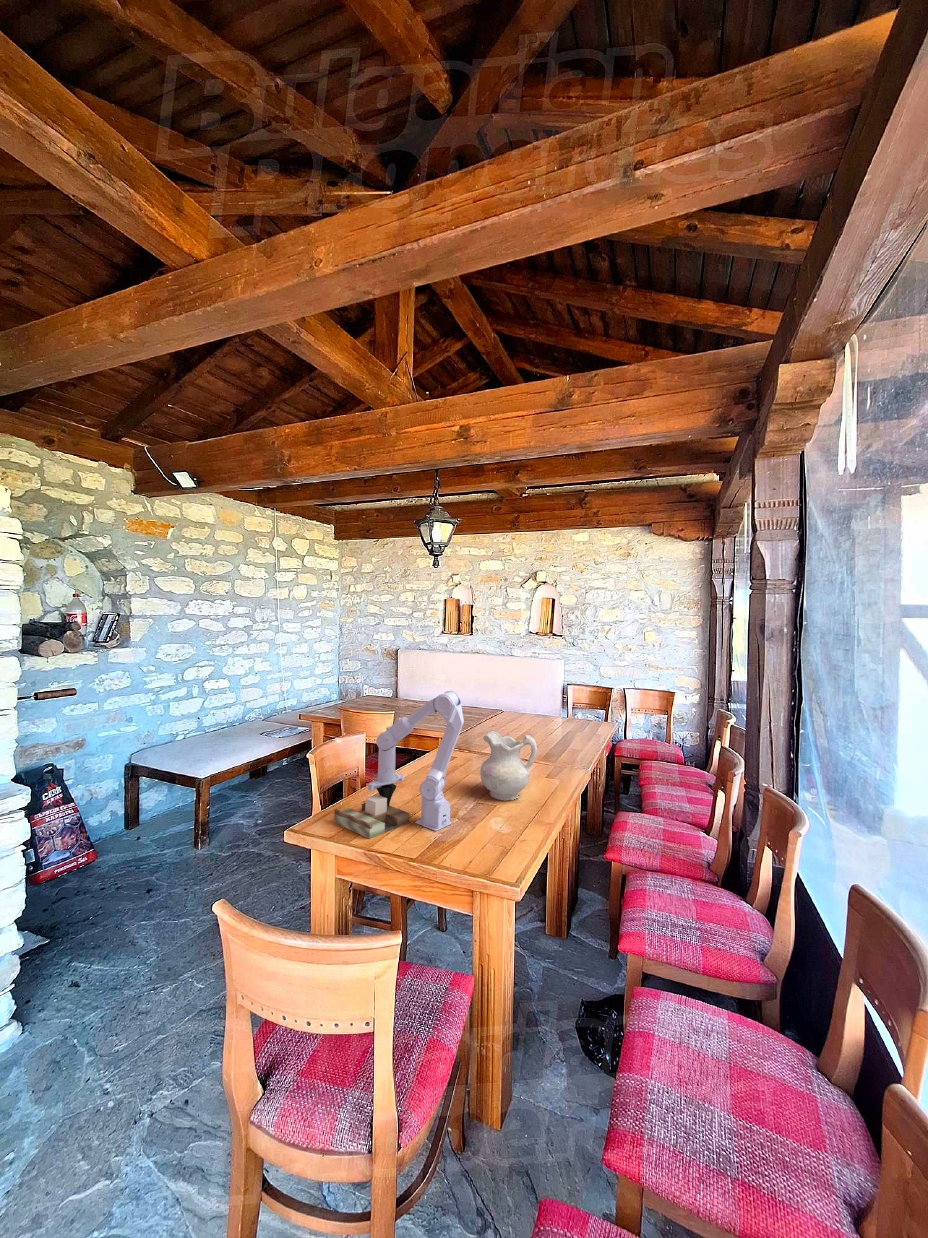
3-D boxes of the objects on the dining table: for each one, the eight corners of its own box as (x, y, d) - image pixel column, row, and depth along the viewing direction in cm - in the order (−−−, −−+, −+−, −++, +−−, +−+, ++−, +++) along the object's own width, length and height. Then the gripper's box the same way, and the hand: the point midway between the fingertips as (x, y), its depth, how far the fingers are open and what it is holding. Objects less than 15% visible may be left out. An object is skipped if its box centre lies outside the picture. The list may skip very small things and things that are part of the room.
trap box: (409, 822, 163) (409, 809, 163) (369, 839, 150) (370, 825, 150) (373, 808, 174) (374, 796, 174) (334, 822, 161) (334, 809, 161)
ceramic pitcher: (534, 792, 198) (535, 730, 200) (536, 806, 179) (538, 737, 181) (481, 789, 200) (482, 727, 202) (478, 803, 181) (479, 734, 183)
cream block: (386, 811, 164) (387, 798, 164) (375, 816, 160) (375, 802, 160) (376, 807, 167) (377, 794, 167) (365, 812, 163) (365, 798, 163)
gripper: (394, 759, 175) (393, 797, 175) (362, 768, 164) (361, 809, 163) (408, 763, 170) (407, 802, 170) (376, 773, 159) (374, 814, 159)
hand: (385, 806), depth 167 cm, fingers closed
